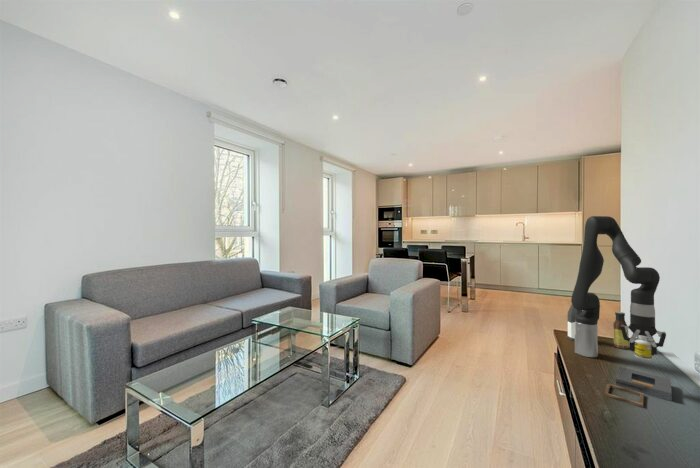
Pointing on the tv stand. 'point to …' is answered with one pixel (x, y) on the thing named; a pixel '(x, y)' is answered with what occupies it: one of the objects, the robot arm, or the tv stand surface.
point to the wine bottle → (572, 322)
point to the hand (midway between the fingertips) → (642, 352)
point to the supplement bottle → (643, 347)
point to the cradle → (625, 391)
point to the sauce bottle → (617, 332)
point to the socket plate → (644, 383)
